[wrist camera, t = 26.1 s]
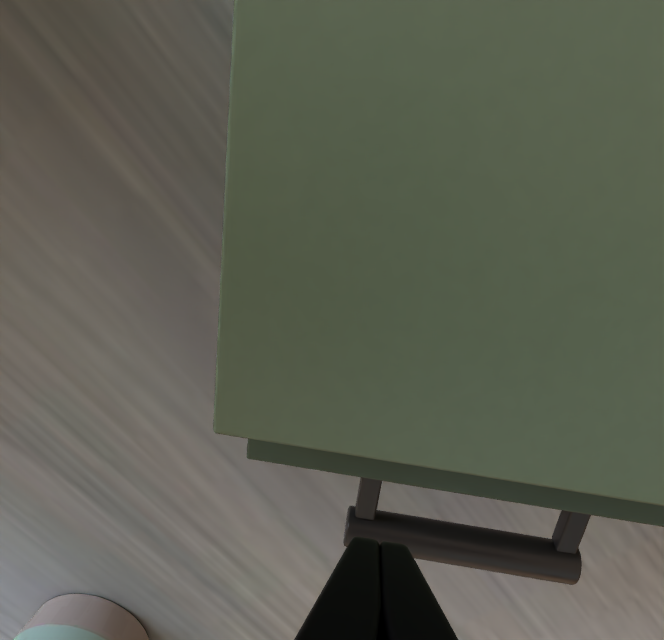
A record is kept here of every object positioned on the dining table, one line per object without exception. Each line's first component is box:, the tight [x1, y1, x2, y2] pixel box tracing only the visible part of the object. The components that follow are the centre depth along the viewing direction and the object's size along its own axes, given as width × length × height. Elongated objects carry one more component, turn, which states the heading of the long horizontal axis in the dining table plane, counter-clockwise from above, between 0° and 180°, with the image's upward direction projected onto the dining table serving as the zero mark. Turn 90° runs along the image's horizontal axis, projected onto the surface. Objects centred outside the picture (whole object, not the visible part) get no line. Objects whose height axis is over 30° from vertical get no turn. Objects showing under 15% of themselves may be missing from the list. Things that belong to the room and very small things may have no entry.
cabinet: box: [213, 0, 664, 506], centre depth 13 cm, size 14×14×9 cm
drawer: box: [247, 438, 664, 585], centre depth 15 cm, size 17×12×7 cm
